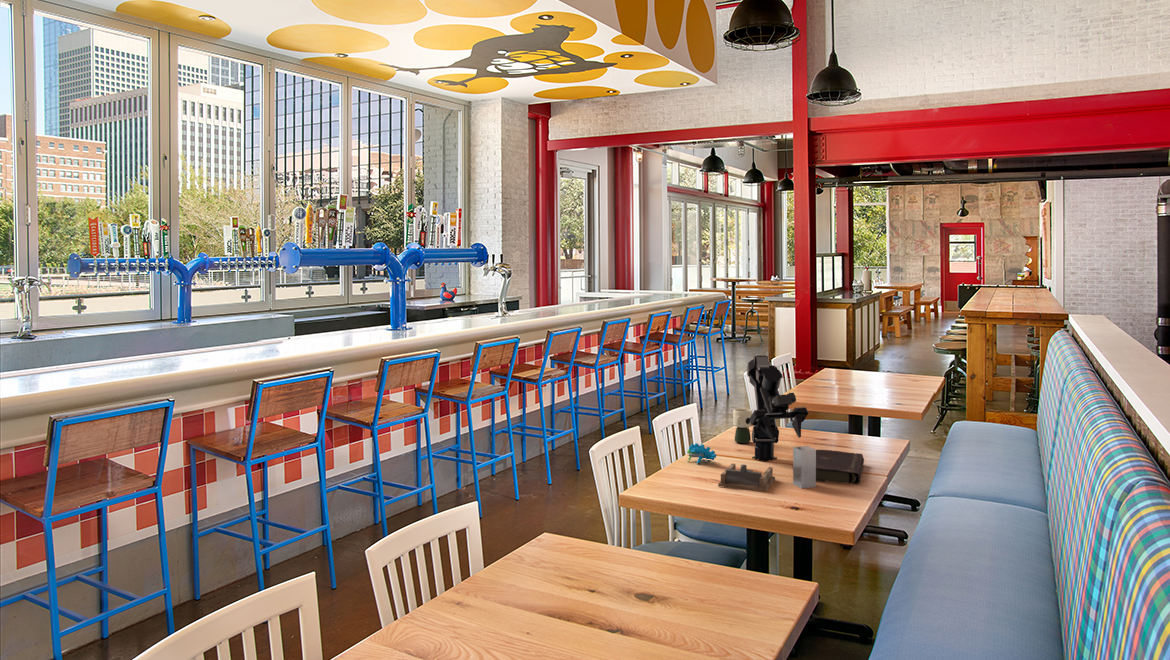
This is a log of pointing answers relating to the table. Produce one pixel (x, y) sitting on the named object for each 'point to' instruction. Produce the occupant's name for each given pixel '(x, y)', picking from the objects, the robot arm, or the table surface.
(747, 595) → the table surface
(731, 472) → the keeper cradle
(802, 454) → the steel link block
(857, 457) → the diary
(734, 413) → the character mug
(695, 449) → the blue spiky toy dinosaur
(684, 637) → the table surface
